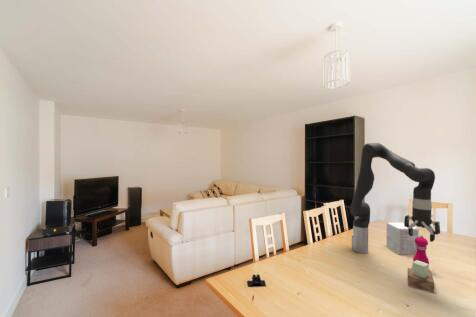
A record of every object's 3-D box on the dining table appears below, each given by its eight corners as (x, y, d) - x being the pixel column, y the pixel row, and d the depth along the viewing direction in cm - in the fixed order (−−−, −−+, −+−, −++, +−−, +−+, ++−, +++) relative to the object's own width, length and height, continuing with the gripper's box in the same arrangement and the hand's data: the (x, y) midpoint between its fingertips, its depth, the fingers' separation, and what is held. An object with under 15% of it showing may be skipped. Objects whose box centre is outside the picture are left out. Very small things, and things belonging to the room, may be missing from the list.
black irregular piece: (267, 280, 120) (266, 272, 120) (269, 288, 113) (269, 279, 113) (244, 281, 120) (244, 272, 120) (244, 289, 113) (244, 280, 112)
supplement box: (419, 254, 147) (419, 228, 146) (398, 254, 147) (399, 228, 146) (404, 246, 160) (404, 222, 159) (385, 246, 160) (386, 222, 160)
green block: (412, 273, 116) (412, 262, 116) (416, 271, 118) (417, 260, 118) (424, 278, 112) (424, 266, 111) (428, 275, 114) (428, 264, 114)
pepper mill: (422, 272, 125) (423, 237, 125) (409, 266, 132) (410, 233, 132) (432, 270, 127) (432, 236, 126) (418, 264, 134) (419, 231, 133)
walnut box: (408, 285, 114) (408, 276, 114) (407, 276, 122) (407, 267, 122) (434, 292, 108) (434, 282, 108) (431, 282, 116) (431, 273, 116)
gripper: (402, 205, 118) (401, 235, 118) (436, 211, 106) (436, 245, 106) (408, 203, 122) (408, 232, 122) (442, 209, 110) (441, 241, 110)
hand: (421, 238), depth 114 cm, fingers open, 8 cm apart
